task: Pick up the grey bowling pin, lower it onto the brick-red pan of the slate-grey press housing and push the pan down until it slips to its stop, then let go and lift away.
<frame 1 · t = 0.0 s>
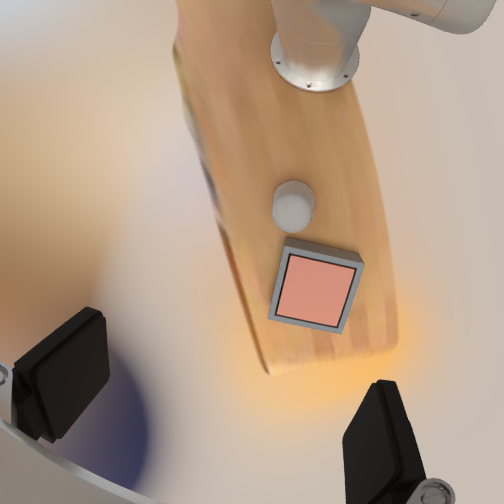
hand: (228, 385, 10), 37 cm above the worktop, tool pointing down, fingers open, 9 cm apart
press housing: (313, 279, 47), on the worktop
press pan: (314, 291, 42), point 4 cm above the worktop, slide at 0.0 cm
grey bowling pin: (294, 199, 44), on the worktop
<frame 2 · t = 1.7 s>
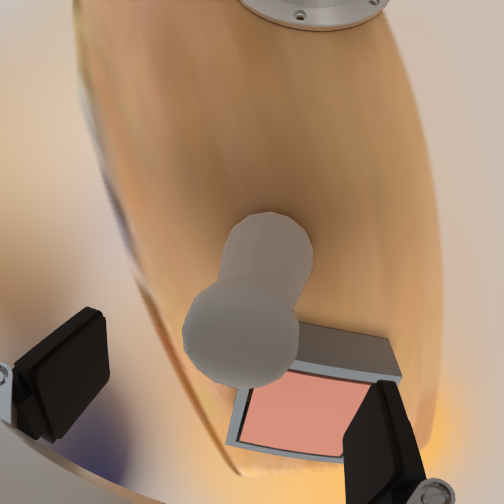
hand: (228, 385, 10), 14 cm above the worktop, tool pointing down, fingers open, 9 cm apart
press housing: (306, 378, 25), on the worktop
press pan: (306, 414, 21), point 4 cm above the worktop, slide at 0.0 cm
grey bowling pin: (271, 245, 23), on the worktop
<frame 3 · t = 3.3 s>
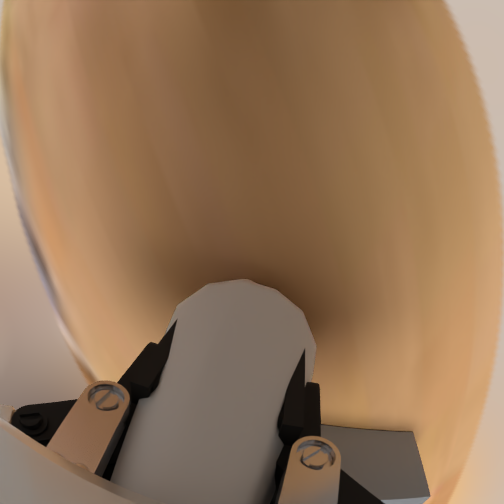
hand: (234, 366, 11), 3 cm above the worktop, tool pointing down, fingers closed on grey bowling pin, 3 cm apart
press housing: (300, 474, 17), on the worktop
grey bowling pin: (249, 321, 14), on the worktop, touching gripper
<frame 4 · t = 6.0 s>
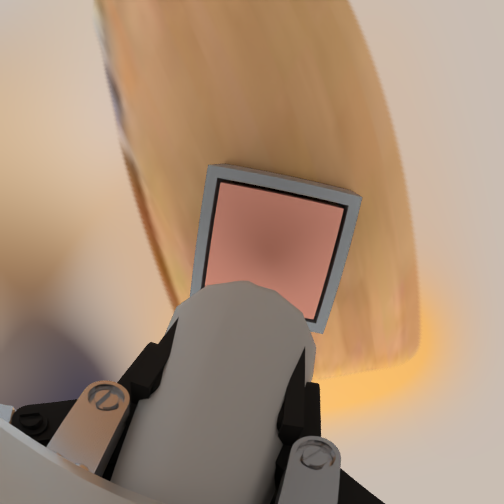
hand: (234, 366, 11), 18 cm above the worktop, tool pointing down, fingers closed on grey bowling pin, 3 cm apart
press housing: (275, 237, 27), on the worktop
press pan: (270, 252, 23), point 4 cm above the worktop, slide at 0.0 cm
grey bowling pin: (248, 322, 14), point 14 cm above the worktop, touching gripper
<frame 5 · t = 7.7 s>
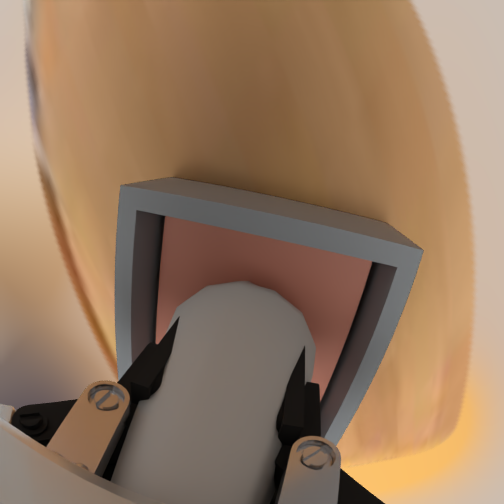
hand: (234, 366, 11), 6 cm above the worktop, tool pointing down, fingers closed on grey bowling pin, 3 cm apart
press housing: (257, 300, 17), on the worktop
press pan: (250, 321, 14), point 2 cm above the worktop, slide at 2.1 cm, touching grey bowling pin
grey bowling pin: (249, 322, 14), point 3 cm above the worktop, touching gripper, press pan
when the fingers open (6 cm above the worktop, at t = 8.5 s): grey bowling pin stays where it is, resting on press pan.
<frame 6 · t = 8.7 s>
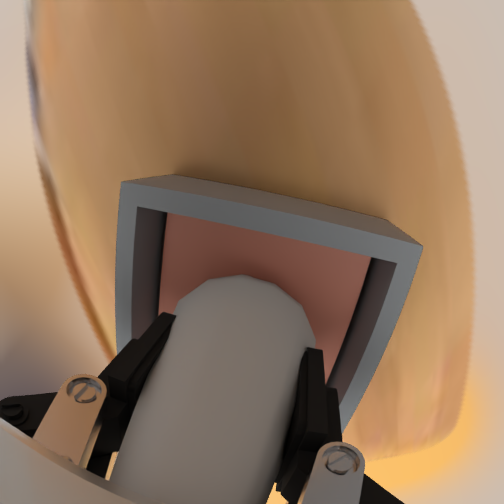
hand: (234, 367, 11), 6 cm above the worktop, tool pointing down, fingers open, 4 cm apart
press housing: (257, 297, 17), on the worktop
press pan: (251, 316, 14), point 2 cm above the worktop, slide at 2.3 cm, touching grey bowling pin
grey bowling pin: (249, 317, 14), point 2 cm above the worktop, touching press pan
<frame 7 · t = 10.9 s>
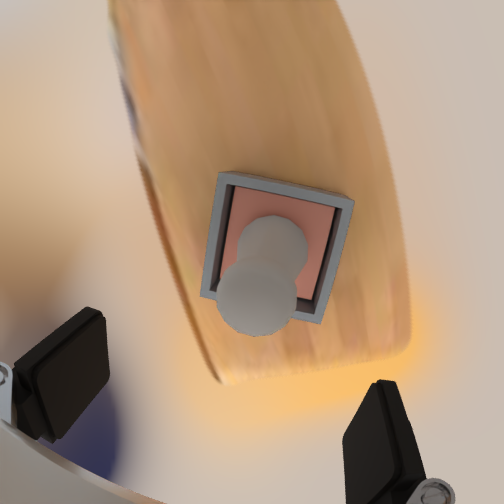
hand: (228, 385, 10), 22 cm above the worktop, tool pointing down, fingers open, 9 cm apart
press housing: (277, 237, 30), on the worktop
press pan: (275, 243, 28), point 2 cm above the worktop, slide at 2.3 cm, touching grey bowling pin
grey bowling pin: (274, 242, 28), point 2 cm above the worktop, touching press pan
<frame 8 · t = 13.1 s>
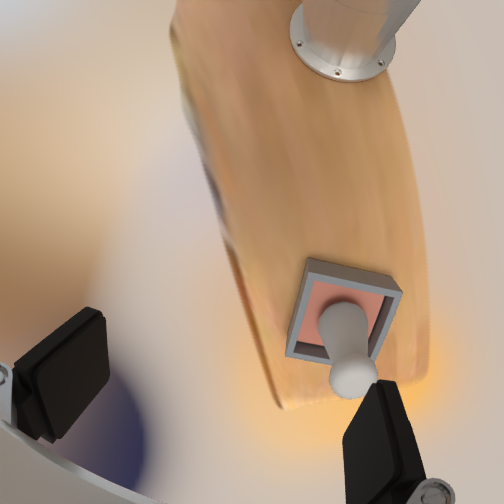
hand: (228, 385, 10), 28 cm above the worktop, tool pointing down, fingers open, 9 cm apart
press housing: (338, 307, 38), on the worktop
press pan: (340, 315, 36), point 2 cm above the worktop, slide at 2.3 cm, touching grey bowling pin
grey bowling pin: (340, 315, 36), point 2 cm above the worktop, touching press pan
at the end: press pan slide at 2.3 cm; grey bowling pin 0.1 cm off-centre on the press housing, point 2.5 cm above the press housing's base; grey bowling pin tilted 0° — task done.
